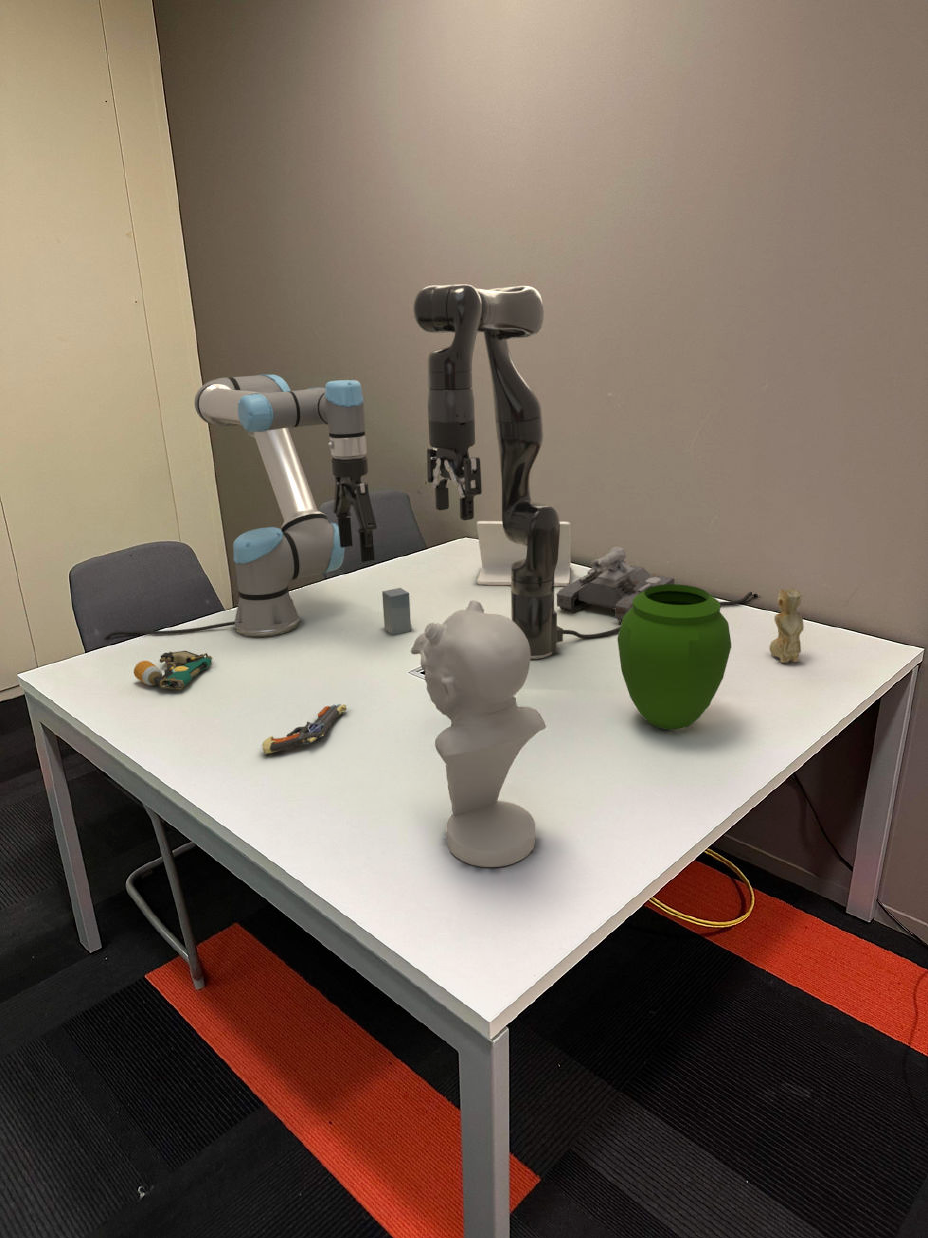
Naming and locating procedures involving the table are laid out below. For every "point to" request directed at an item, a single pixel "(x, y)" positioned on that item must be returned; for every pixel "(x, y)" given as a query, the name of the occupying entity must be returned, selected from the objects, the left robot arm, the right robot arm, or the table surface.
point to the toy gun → (305, 731)
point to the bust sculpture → (481, 729)
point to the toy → (609, 585)
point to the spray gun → (172, 669)
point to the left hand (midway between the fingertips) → (356, 553)
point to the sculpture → (788, 626)
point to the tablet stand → (515, 554)
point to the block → (396, 611)
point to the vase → (673, 653)
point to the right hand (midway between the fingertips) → (454, 514)
